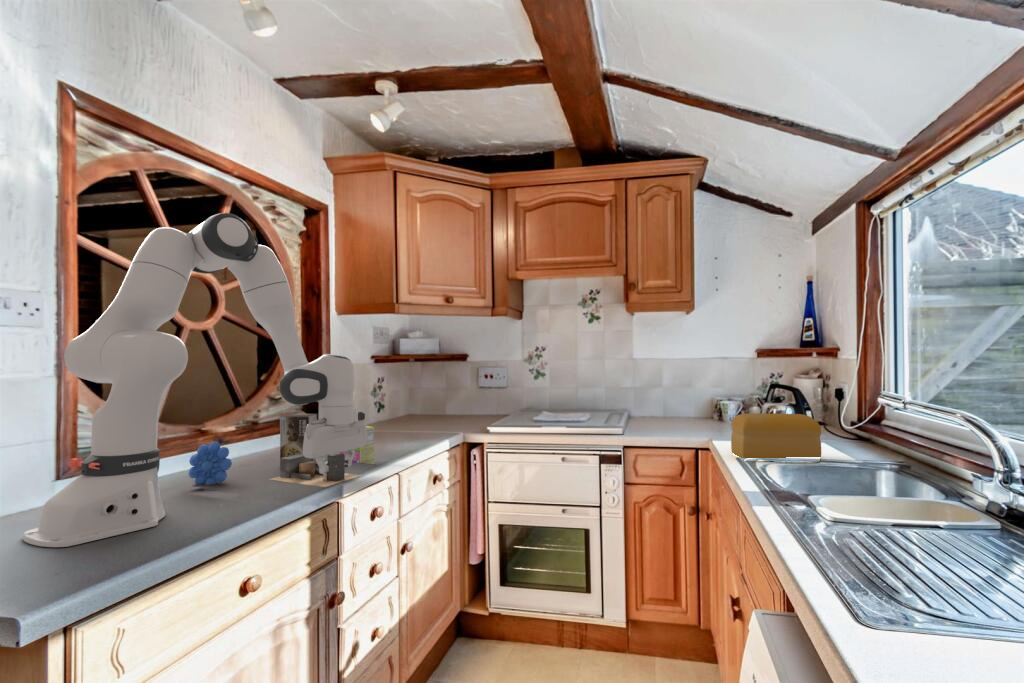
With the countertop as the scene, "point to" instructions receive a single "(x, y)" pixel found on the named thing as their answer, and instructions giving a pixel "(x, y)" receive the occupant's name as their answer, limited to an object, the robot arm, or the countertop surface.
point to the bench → (292, 475)
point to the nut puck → (307, 468)
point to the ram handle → (335, 467)
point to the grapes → (210, 464)
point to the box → (365, 449)
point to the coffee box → (294, 433)
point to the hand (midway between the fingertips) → (335, 469)
